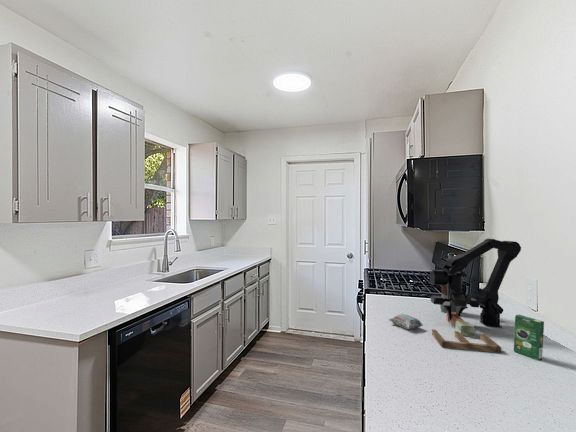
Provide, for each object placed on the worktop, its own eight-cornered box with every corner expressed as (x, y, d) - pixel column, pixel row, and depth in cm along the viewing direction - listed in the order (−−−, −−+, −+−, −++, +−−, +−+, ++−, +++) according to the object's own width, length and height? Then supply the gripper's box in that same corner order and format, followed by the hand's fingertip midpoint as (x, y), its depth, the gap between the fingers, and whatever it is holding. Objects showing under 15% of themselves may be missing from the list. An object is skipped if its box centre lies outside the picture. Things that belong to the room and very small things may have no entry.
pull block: (456, 321, 144) (457, 312, 144) (474, 336, 125) (474, 326, 125) (445, 320, 145) (445, 311, 145) (460, 335, 126) (460, 325, 126)
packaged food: (408, 333, 127) (409, 320, 127) (387, 324, 137) (387, 312, 138) (423, 330, 131) (423, 318, 131) (401, 321, 141) (402, 311, 141)
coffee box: (544, 359, 105) (544, 320, 105) (539, 361, 104) (540, 321, 104) (518, 350, 112) (518, 313, 112) (513, 351, 111) (514, 314, 111)
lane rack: (484, 339, 122) (484, 333, 122) (501, 352, 110) (501, 347, 110) (431, 334, 126) (431, 329, 126) (441, 347, 113) (441, 341, 113)
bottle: (464, 313, 157) (465, 253, 157) (454, 316, 152) (456, 254, 152) (445, 308, 164) (447, 252, 165) (436, 311, 159) (437, 252, 160)
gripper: (438, 288, 135) (437, 324, 135) (485, 291, 132) (484, 328, 131) (430, 283, 146) (429, 316, 146) (474, 285, 143) (473, 320, 142)
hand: (453, 320), depth 141 cm, fingers closed on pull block, 2 cm apart
